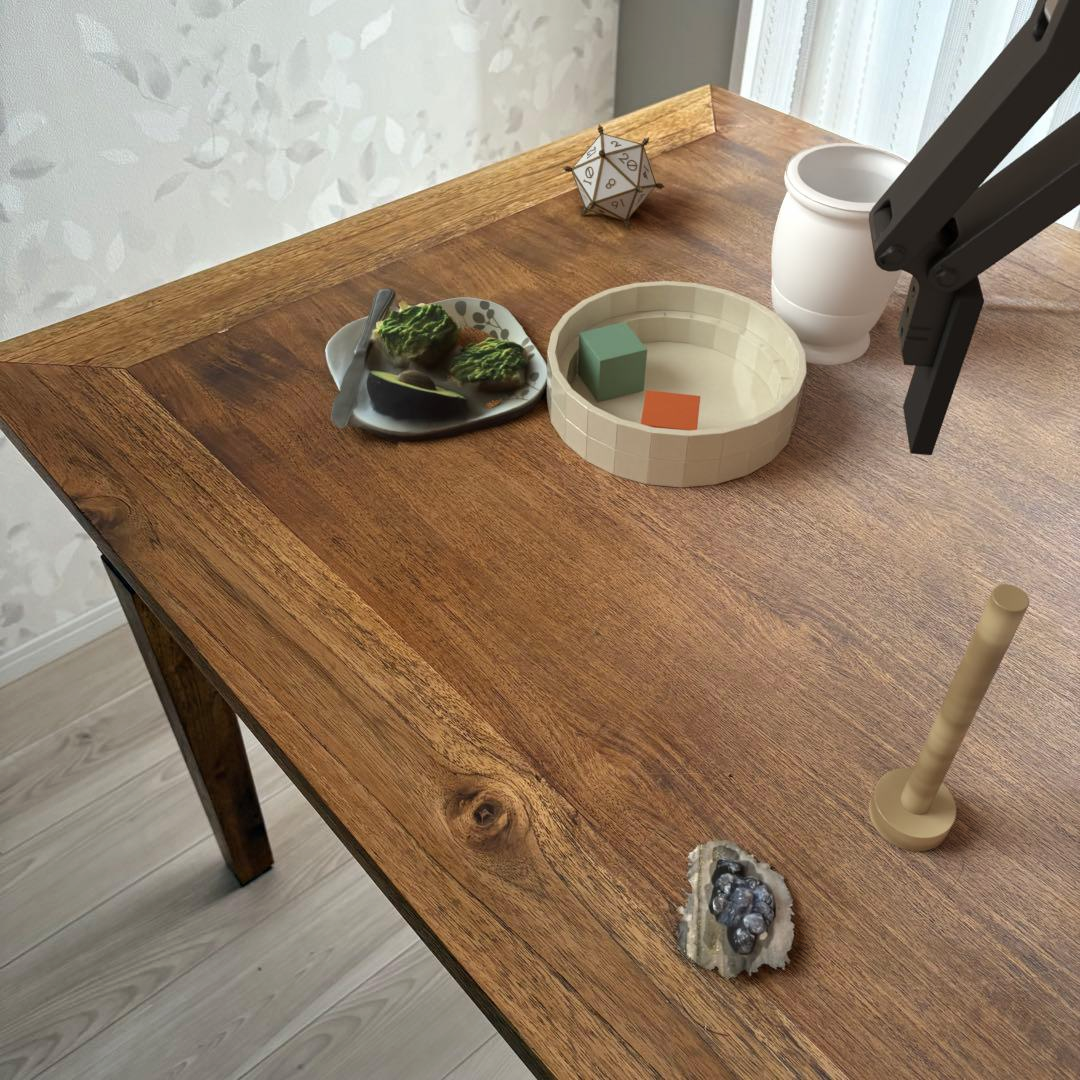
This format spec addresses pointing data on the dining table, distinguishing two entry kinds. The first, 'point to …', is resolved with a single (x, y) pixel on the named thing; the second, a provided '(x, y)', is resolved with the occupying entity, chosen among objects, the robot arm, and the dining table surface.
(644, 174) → the game die
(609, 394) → the sage block
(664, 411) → the rust block
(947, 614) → the dining table surface
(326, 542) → the dining table surface
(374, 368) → the salad plate
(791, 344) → the bowl
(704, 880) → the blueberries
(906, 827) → the stand
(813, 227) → the jar
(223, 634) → the dining table surface
